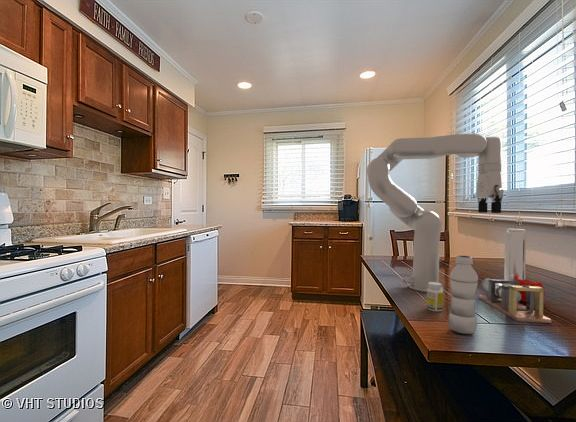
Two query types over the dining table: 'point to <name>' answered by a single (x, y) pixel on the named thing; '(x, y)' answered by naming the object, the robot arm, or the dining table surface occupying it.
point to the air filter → (515, 254)
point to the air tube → (497, 289)
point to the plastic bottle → (463, 296)
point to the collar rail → (510, 301)
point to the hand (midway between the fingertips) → (489, 212)
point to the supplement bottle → (435, 296)
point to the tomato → (528, 283)
